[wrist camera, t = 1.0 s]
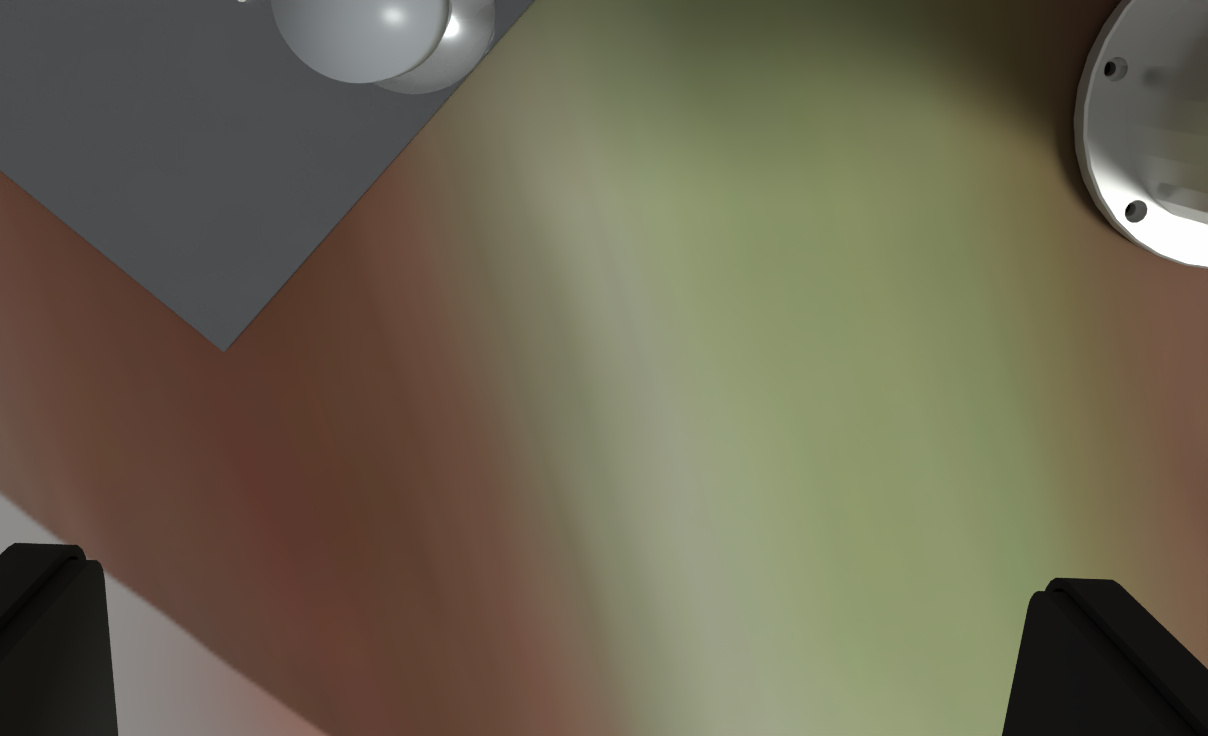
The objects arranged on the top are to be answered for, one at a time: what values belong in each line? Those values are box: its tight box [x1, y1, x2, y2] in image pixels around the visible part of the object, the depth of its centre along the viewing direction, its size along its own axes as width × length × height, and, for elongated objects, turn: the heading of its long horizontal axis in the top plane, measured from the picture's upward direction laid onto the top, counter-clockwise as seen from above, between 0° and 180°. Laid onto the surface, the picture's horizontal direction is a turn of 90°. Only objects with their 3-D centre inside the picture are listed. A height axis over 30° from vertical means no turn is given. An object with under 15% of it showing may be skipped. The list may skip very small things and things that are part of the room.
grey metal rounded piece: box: [372, 0, 495, 94], centre depth 35 cm, size 6×6×7 cm
